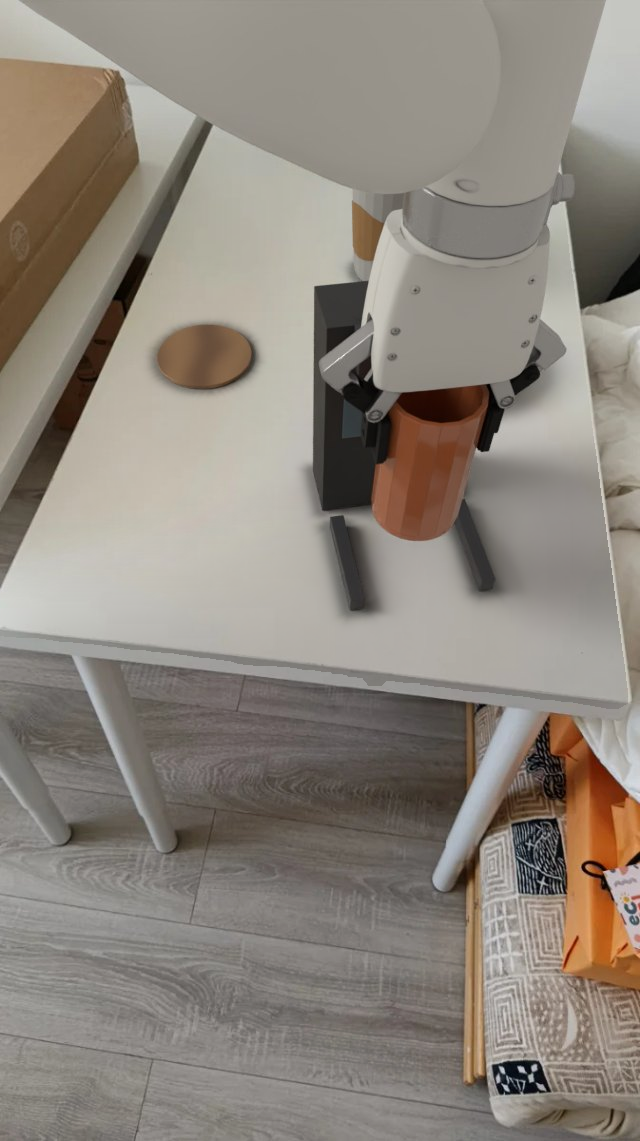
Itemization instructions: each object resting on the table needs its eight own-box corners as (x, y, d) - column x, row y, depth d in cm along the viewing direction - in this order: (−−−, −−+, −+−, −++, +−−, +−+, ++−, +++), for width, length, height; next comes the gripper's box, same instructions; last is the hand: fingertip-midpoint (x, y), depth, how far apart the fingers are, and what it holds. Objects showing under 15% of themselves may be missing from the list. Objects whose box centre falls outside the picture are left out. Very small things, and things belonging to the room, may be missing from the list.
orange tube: (382, 546, 59) (400, 431, 49) (363, 480, 63) (376, 362, 53) (467, 535, 60) (502, 420, 50) (444, 471, 63) (471, 352, 54)
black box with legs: (346, 611, 64) (359, 439, 48) (312, 470, 73) (314, 285, 57) (495, 589, 66) (557, 415, 50) (444, 453, 75) (483, 268, 59)
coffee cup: (429, 277, 91) (448, 147, 79) (373, 301, 89) (383, 170, 76) (387, 243, 95) (398, 114, 83) (331, 265, 93) (334, 135, 80)
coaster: (160, 394, 79) (160, 391, 79) (154, 332, 85) (154, 329, 85) (257, 383, 80) (257, 380, 80) (245, 323, 86) (245, 320, 86)
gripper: (601, 157, 44) (524, 396, 59) (300, 177, 42) (298, 420, 56) (657, 230, 40) (560, 468, 54) (326, 257, 38) (316, 497, 52)
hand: (427, 442), depth 55 cm, fingers closed on orange tube, 6 cm apart
